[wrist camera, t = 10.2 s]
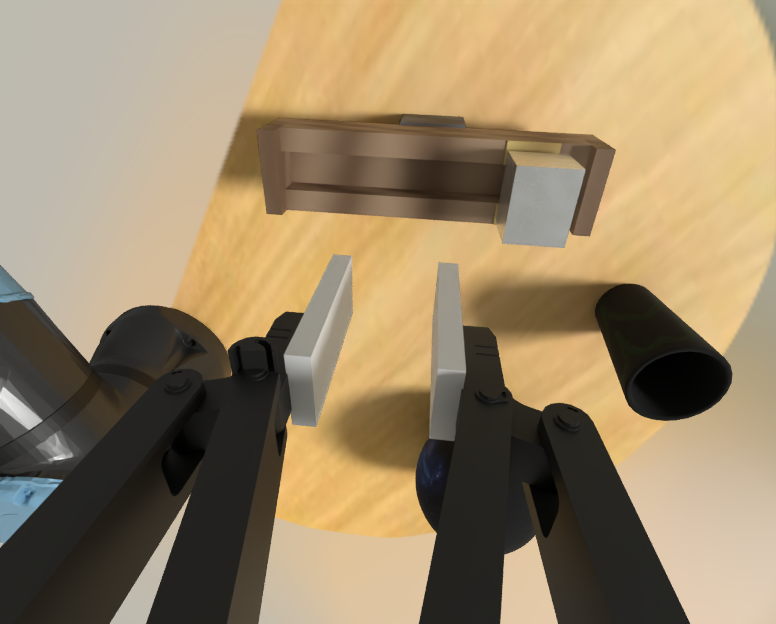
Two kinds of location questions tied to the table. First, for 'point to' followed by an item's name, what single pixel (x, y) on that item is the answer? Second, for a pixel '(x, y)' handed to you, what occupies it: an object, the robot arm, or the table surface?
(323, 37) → the table surface
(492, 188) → the beam
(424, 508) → the decorative sphere
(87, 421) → the robot arm
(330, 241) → the table surface
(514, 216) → the block
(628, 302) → the cup
